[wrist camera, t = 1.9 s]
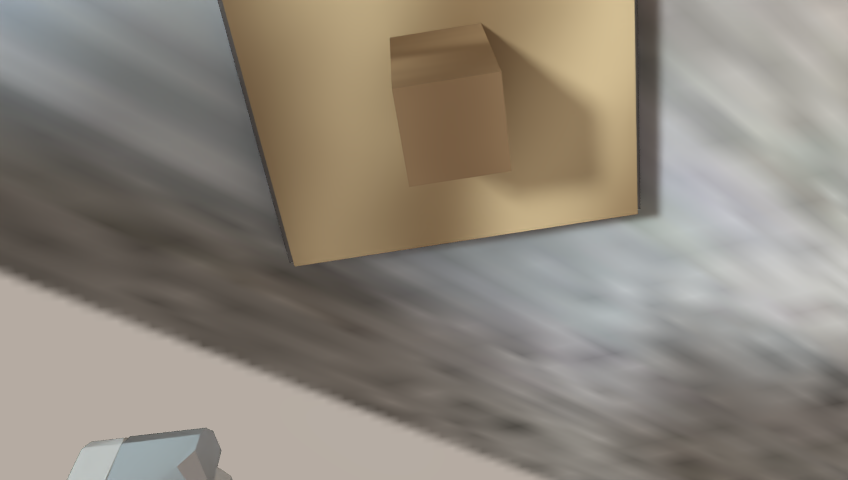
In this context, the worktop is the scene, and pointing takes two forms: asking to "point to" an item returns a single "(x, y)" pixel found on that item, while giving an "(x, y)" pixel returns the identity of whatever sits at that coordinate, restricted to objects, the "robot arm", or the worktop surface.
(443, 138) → the lid
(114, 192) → the worktop surface
